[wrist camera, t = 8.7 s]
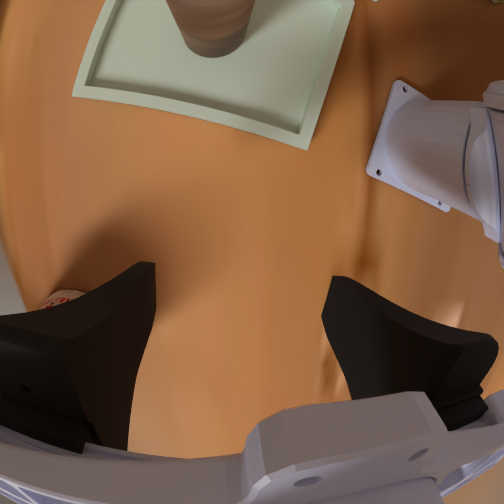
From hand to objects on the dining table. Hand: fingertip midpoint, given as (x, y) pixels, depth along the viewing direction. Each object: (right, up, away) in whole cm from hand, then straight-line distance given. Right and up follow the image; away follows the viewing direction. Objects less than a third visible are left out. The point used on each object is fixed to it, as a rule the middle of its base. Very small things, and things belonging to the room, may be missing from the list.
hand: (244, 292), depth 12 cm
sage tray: (-2, +16, +4) cm, 16 cm away
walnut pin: (-2, +16, +3) cm, 16 cm away
